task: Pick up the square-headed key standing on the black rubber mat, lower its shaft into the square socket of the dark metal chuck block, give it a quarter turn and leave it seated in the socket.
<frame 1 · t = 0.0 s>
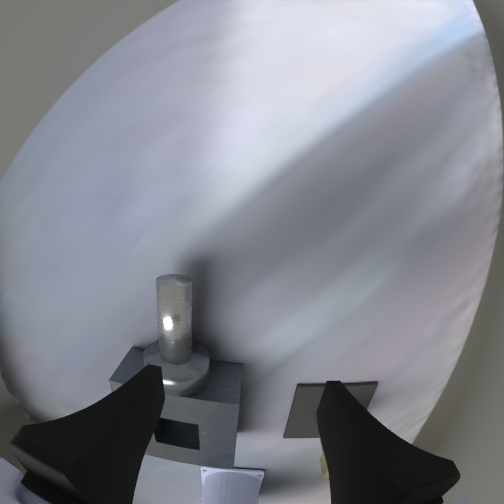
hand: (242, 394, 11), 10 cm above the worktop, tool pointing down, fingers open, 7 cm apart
chuck: (187, 396, 23), on the worktop
mat: (328, 412, 24), on the worktop
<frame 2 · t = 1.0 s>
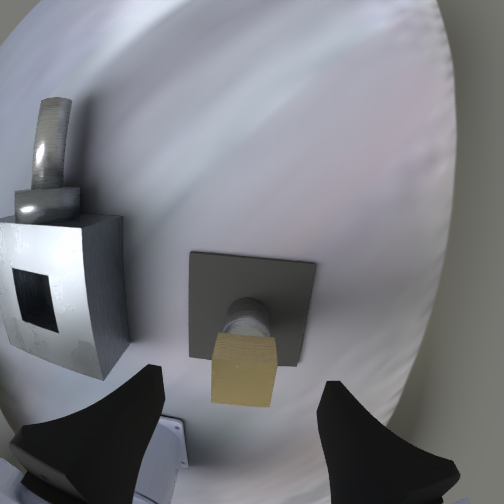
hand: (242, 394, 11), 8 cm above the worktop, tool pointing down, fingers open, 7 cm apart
chuck: (72, 276, 18), on the worktop
mat: (247, 313, 19), on the worktop
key: (247, 316, 18), resting on mat
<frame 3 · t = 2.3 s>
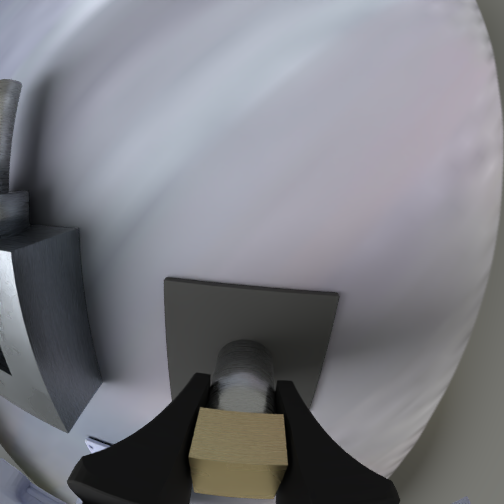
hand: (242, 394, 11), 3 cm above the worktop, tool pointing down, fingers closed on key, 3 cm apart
chuck: (31, 301, 13), on the worktop
mat: (245, 357, 13), on the worktop
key: (244, 362, 13), resting on mat, touching gripper
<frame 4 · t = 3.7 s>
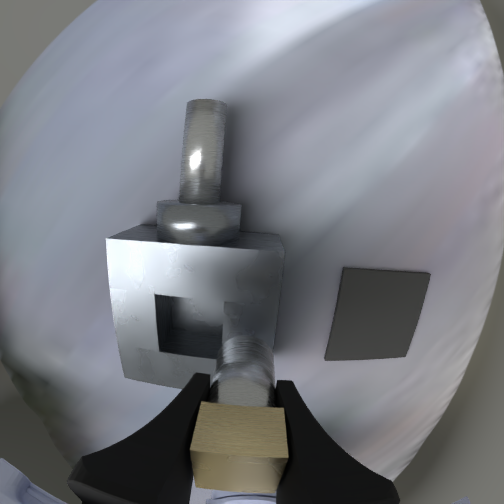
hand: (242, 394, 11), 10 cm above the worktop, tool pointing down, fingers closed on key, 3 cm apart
chuck: (203, 295, 20), on the worktop
mat: (378, 316, 20), on the worktop
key: (245, 358, 13), point 7 cm above the worktop, touching gripper
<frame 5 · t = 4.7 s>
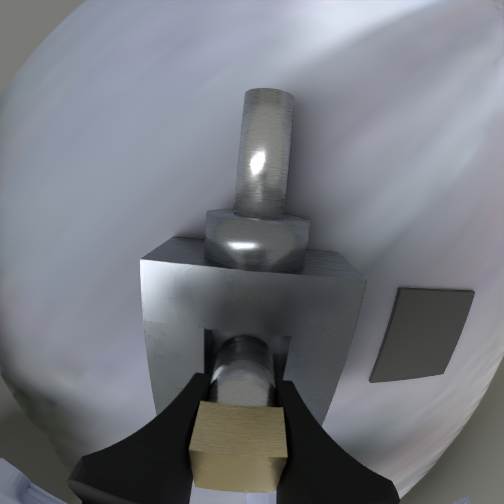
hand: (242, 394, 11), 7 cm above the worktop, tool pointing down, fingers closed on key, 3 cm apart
chuck: (247, 320, 18), on the worktop
mat: (424, 336, 18), on the worktop
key: (245, 358, 13), point 4 cm above the worktop, touching gripper
when the fingers open (5 cm above the worktop, at t = 5.5 s): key stays where it is, resting on chuck.
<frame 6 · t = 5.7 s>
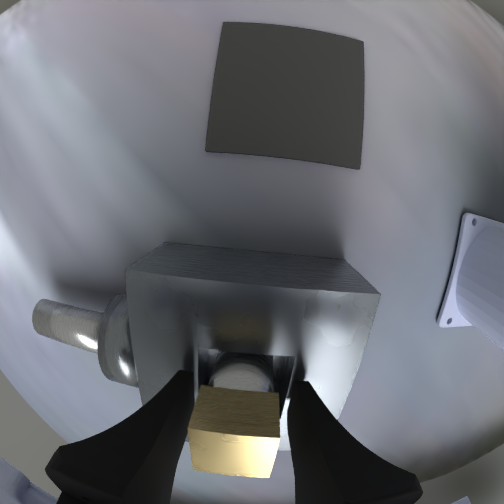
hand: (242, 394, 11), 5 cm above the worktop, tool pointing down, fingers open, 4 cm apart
chuck: (246, 332, 16), on the worktop
mat: (290, 87, 13), on the worktop
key: (246, 350, 14), point 2 cm above the worktop, touching chuck
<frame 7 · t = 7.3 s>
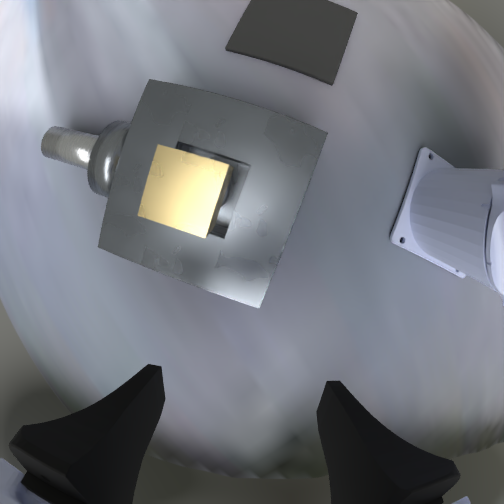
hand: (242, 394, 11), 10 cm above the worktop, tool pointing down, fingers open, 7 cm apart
chuck: (215, 187, 18), on the worktop
mat: (295, 27, 15), on the worktop
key: (211, 186, 16), point 2 cm above the worktop, touching chuck
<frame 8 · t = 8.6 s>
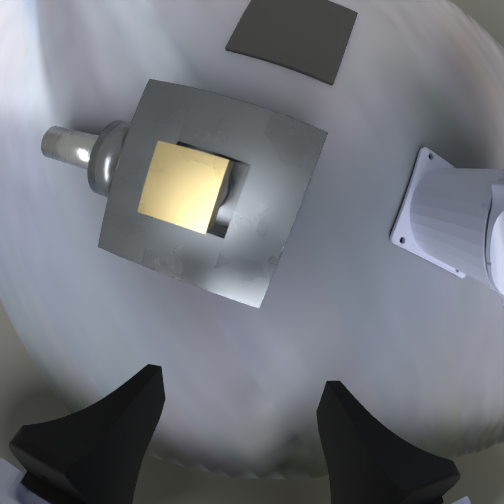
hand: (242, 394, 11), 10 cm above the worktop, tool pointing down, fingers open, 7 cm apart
chuck: (215, 187, 18), on the worktop
mat: (295, 27, 15), on the worktop
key: (211, 186, 16), point 2 cm above the worktop, touching chuck
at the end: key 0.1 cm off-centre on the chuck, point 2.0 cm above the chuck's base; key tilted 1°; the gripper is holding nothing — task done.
